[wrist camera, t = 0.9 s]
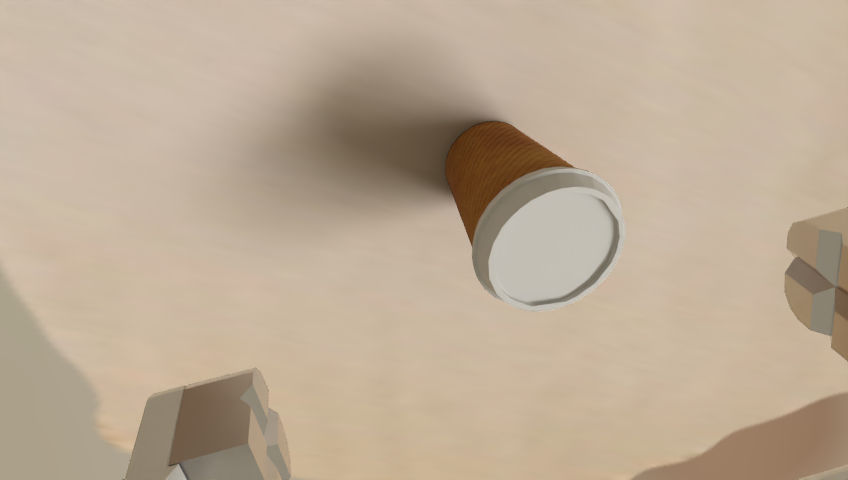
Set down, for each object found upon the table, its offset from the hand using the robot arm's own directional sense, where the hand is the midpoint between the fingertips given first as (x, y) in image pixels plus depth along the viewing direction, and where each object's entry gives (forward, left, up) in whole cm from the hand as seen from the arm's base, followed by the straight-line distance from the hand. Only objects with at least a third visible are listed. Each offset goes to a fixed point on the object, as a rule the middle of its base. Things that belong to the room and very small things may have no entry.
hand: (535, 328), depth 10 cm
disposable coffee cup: (+17, +11, -35) cm, 40 cm away
